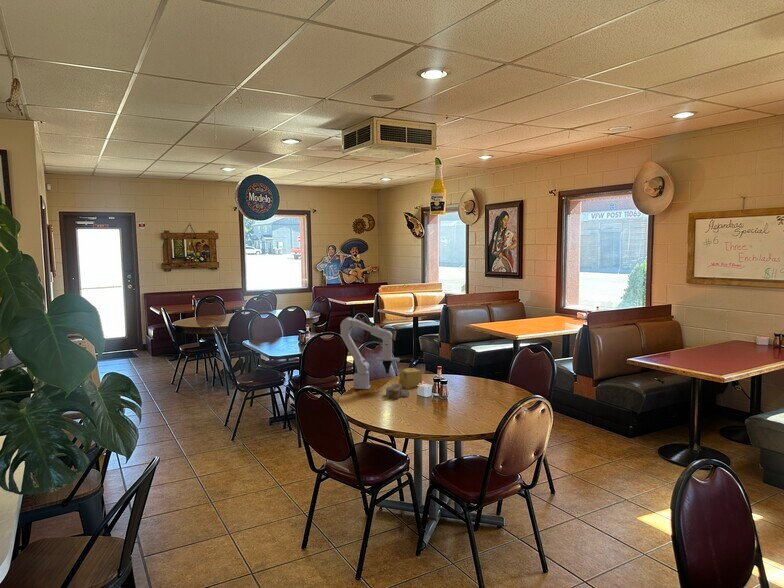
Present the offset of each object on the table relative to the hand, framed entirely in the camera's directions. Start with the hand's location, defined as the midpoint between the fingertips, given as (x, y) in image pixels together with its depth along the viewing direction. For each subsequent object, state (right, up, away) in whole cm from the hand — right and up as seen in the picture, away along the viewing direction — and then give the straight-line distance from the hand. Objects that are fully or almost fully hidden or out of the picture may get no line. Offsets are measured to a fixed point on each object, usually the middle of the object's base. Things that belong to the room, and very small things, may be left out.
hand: (387, 373), depth 328 cm
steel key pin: (+6, -11, -15) cm, 19 cm away
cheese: (+14, -9, +7) cm, 18 cm away
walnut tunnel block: (+5, -11, -15) cm, 19 cm away
